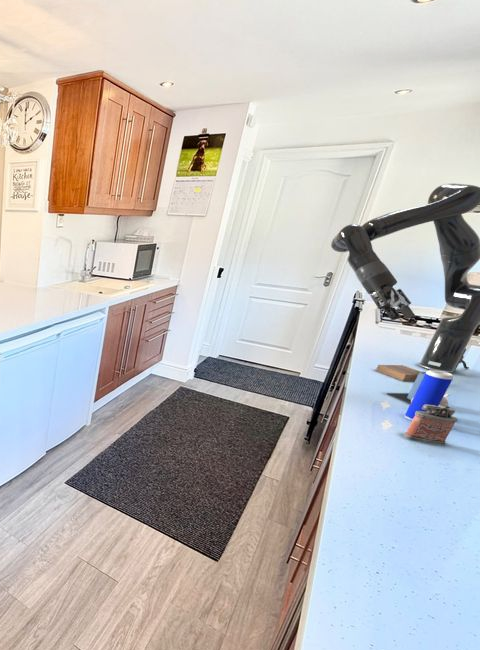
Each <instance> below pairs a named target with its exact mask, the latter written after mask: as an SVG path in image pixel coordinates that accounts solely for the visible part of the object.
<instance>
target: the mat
mask: <svg viewBox="0 0 480 650" xmlns="http://www.w3.org/2000/svg"><path fill="white" fill-rule="evenodd" d="M408 394H409V392H408V393H407V392H403V393H401V392H400V393H399V392H397V393H396V392H387V394H386V395H388V396H389V397H392V398H395V399H397V400H400V401H402V402H404V403H406V404H409V405H410V404H411V400H410V399H408V398H407V396H408ZM446 408H450V406H448V405H447V406H446Z"/></svg>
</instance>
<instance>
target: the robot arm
mask: <svg viewBox="0 0 480 650" xmlns="http://www.w3.org/2000/svg"><path fill="white" fill-rule="evenodd" d="M479 205H480V186H478V185H473V184H465V183H444V184H441V185H439V186H437V187H435V188H434V190H433V191H432V192H431V193H430V195H429V196H428V199H427V204H424V205H420V206H414V207H408V208H403V209H399V210H395V211H392V212H388V213H385V214H383V215H380V216H376V217H375V218H372V219H369V220H368V221H366V222H364V223H363V224H362V225H360V224H354V223H353V224H348V225H345V226H343V227H342V228H341V229H340V231H338V233H337V234H336V235H335V236H334V237H333V239H332V240H331V243H330V246H331V247H330V248H331V249H332V250H333V251H335V252H338V253H347V252H348V256H347V260H346V261H347V263H348V264H349V266H350V268H351V269H352V270H353V272H354V273H355V276H356V278H357V279H358V281H359V282H360V284H361V285H362V287H363V289H364V290H365V291H366V293H367V294H368V295H369V297H370V298H371V299H372V301H373V302H374V304H375V305H376V307H377V309H379V310H382V311H384V312H385V313H386V314H387V316H388V317H389V319H390V321H396V320H398V319H401V317H402V316H403V317H404V318H405V319H406V320H409V319H412V318H414V317H416V314H415V313H414V311H413V310H412V308H411V307H410V305H411V304H412V301H411V300H410V299H409V298H408V297H407V295H406V294H405V292H404V291H403V290H402V289H401V288H399V289H395V288H394V286H395V285H397V283H398V281H397V279H396V278H395V276H394V274H392V272H391V271H390V269H389V268H388V267H387V265H386V264H385V263H384V262H383V261H382V260H381V259H380V257H379V256H378V255H377V253H376V252H375V251H374V247H373V243H372V241H374V240H377V239H380V238H383V237H385V236H389V235H391V234H394V233H397V232H400V231H402V230H406V229H409V228H413V227H417V226H419V225H423V224H427V223H430V222H433V225H434V229H435V232H436V233H435V234H436V237H437V243H438V247H439V248H438V249H439V256H440V261H441V264H442V269H443V276H444V278H443V279H444V302H445V304H446V305H447V306H448V307H450V308H453V309H458V310H463V311H462V312H461V314H460V315H457V316H445V317H443V318H441V320H440V321H439V324H438V325H437V328H436V330H434V331H435V332H434V334H433V336H432V338H431V339H430V341H429V344H428V346H427V348H426V350H425V352H424V354H423V356H422V358H421V360H420V362H419V364H418V366H419V367H421V368H423V369H426V370H428V371H429V370H439V371H444V372H447V373H450V374H452V373H454V372H456V370H457V368H458V366H459V365H460V364H461V363H462V365H463V368H464V369H465V370H469V369H470V367H469V366H467V363H466V361H465V360H464V358H465V356H464V355H465V353H466V351H467V347H468V344H469V342H470V340H471V339H472V337H473V335H474V333H475V331H476V329H477V327H478V326H479V325H480V285H478V284H472V283H470V282H469V281H468V273H469V272H470V270H472V269H473V268H474V267H475V266H476V265H477V264H478V262H479V261H480V237H479V235H478V233H477V232H476V231H475V230H474V229H473V228H472V226H471V225H470V224H469V223H468V221H466V219H465V218H464V216H463V215H464V214H467V213H469V212H471V211H473V210H474V209H476V208H477V207H479ZM396 308H397V309H398V310H399V312H400V313H401V314H402V316H401V314H400V313H399V312H398V310H397V309H396Z"/></svg>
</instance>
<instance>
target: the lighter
mask: <svg viewBox="0 0 480 650" xmlns="http://www.w3.org/2000/svg"><path fill="white" fill-rule="evenodd" d="M422 409H424V410H428V411H427V412H426V411H416V412H415V417H414V418H413V420H411V423H410V424H409V426H408V428H407V430H406V432H404V434H403V437H404V438H406V439H408V440H409V441H410V440H411V441H415V442H420V443H424V444H431V445H432V444H433V445H439V446H444V445H445V444H446V440H447V438H448V437H449V434H450V432H451V431H452V429H453V428H454V426H455V424H456V423H457V422H458V421H459V419H458V418H457V417H456V416H453V415H455V414H456V413H455V412H456V411H457V410H456V409H454V408H450V407H449V408H446V407H444V406H441V405H439V406H434V405H427V404H425V405H423V407H422Z"/></svg>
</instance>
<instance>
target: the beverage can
mask: <svg viewBox="0 0 480 650" xmlns="http://www.w3.org/2000/svg"><path fill="white" fill-rule="evenodd" d="M425 372H426V374H425V376H424V378H423V380H422V382H421V384H420V386H419V388H418V390H417V392H416V394H415V396H414V398H413V400H412V402H411V404H409V405H408V408H407V410H406V411H405V414H404V417H405V418H406V419H408V420H409V421H412V420H413V418H414V417H415V412H416V411H426V412H427V411H428V410H424V409H422V407H423V405H425V404H427V405H434V406H439V404H440V402H441V400H442V398H443V396H444V395H445V394H447V391H448V389H449V387H450V385H451V384H452V382H453V379H454V375H453V374H452V373H447V372H444V371H439V370H429V369H428V370H427V371H425Z"/></svg>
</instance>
